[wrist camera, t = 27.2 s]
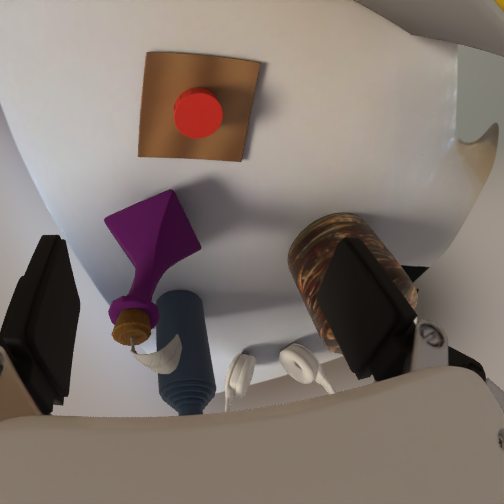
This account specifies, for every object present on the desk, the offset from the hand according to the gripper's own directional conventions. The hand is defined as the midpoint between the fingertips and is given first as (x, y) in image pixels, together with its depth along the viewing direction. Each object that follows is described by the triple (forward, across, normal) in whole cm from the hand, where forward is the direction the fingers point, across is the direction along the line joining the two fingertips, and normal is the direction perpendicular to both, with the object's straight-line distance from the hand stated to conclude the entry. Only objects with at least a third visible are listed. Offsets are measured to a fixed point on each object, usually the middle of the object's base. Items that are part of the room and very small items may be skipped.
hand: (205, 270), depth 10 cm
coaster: (+21, -1, -1) cm, 21 cm away
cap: (+20, -1, -1) cm, 20 cm away
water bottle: (+21, -1, +25) cm, 33 cm away
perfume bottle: (+21, +2, +11) cm, 24 cm away
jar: (+21, -20, +15) cm, 33 cm away
